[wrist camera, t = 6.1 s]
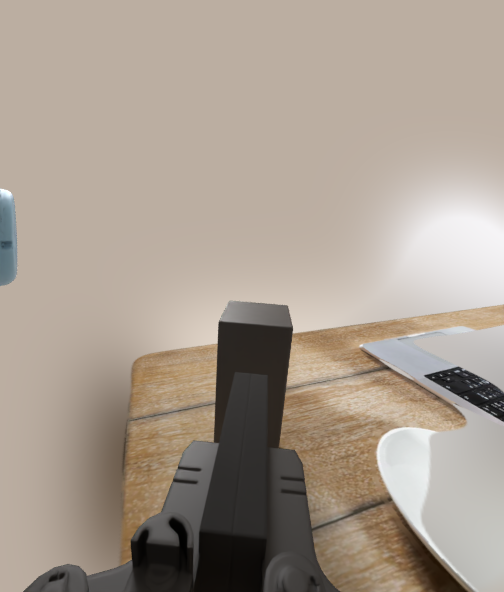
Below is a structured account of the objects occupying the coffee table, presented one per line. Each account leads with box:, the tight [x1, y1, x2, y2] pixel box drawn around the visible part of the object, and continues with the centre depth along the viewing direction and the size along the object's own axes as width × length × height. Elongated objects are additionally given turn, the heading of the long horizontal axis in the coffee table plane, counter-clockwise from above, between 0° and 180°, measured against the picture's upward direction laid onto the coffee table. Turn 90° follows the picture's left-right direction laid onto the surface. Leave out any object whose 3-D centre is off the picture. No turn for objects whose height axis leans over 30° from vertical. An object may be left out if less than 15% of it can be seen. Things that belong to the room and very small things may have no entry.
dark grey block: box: [214, 301, 293, 448], centre depth 20 cm, size 4×4×12 cm
